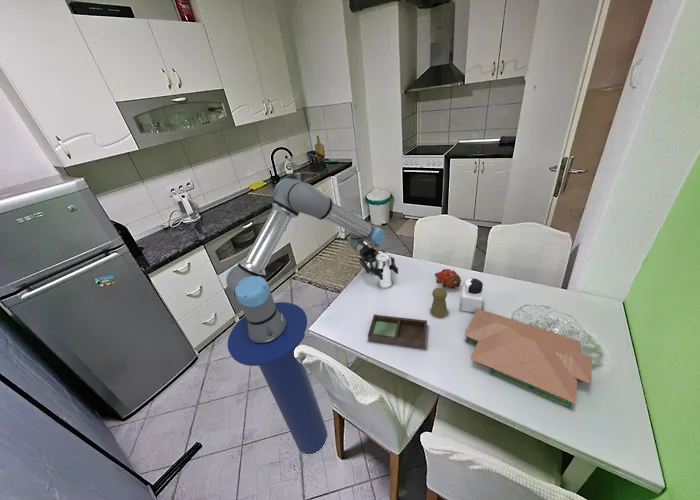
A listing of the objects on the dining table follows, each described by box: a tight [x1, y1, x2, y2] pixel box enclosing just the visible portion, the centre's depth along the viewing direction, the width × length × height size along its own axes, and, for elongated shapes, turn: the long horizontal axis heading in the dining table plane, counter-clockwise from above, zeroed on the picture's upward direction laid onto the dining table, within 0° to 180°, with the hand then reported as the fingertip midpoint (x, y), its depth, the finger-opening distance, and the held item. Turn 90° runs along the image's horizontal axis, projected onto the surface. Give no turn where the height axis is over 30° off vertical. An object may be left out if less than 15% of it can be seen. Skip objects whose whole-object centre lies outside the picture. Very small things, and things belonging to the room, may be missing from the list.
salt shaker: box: [430, 286, 448, 319], centre depth 105 cm, size 6×6×11 cm
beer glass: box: [375, 252, 393, 289], centre depth 124 cm, size 7×7×15 cm
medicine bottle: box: [460, 277, 485, 314], centre depth 105 cm, size 7×7×12 cm
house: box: [464, 308, 593, 407], centre depth 85 cm, size 23×33×8 cm
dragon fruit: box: [434, 268, 462, 289], centre depth 119 cm, size 8×8×12 cm
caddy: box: [367, 314, 428, 350], centre depth 101 cm, size 20×10×3 cm, turn 73°
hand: (389, 274), depth 119 cm, fingers closed on beer glass, 7 cm apart
